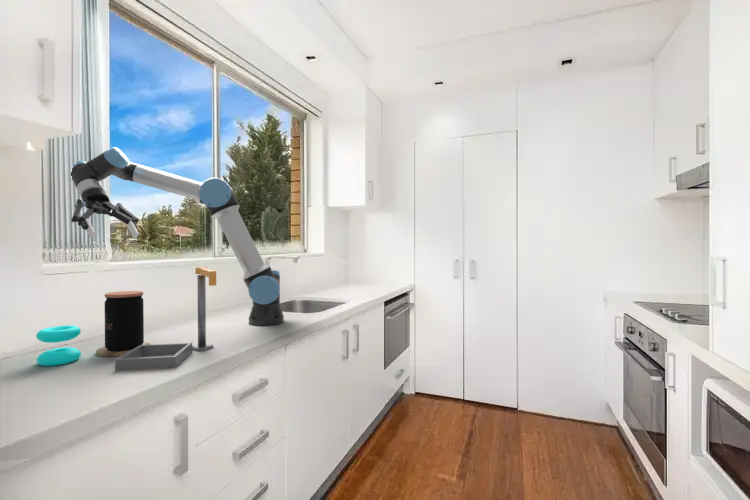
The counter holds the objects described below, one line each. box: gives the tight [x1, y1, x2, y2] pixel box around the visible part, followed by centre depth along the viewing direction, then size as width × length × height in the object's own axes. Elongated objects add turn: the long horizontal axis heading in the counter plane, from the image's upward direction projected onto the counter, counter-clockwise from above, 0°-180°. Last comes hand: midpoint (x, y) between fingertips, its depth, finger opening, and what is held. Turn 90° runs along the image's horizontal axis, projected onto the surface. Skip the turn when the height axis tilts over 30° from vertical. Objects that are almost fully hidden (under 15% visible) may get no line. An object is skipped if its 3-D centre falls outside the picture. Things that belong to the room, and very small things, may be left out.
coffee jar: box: [104, 290, 145, 351], centre depth 123 cm, size 11×11×18 cm
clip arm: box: [194, 266, 217, 287], centre depth 117 cm, size 22×4×4 cm, turn 34°
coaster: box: [95, 341, 152, 358], centre depth 123 cm, size 15×15×1 cm
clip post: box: [192, 274, 214, 352], centre depth 125 cm, size 5×5×24 cm
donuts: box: [36, 325, 82, 367], centre depth 111 cm, size 10×10×10 cm
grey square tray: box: [114, 342, 193, 372], centre depth 112 cm, size 15×15×3 cm
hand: (115, 235), depth 128 cm, fingers open, 13 cm apart
